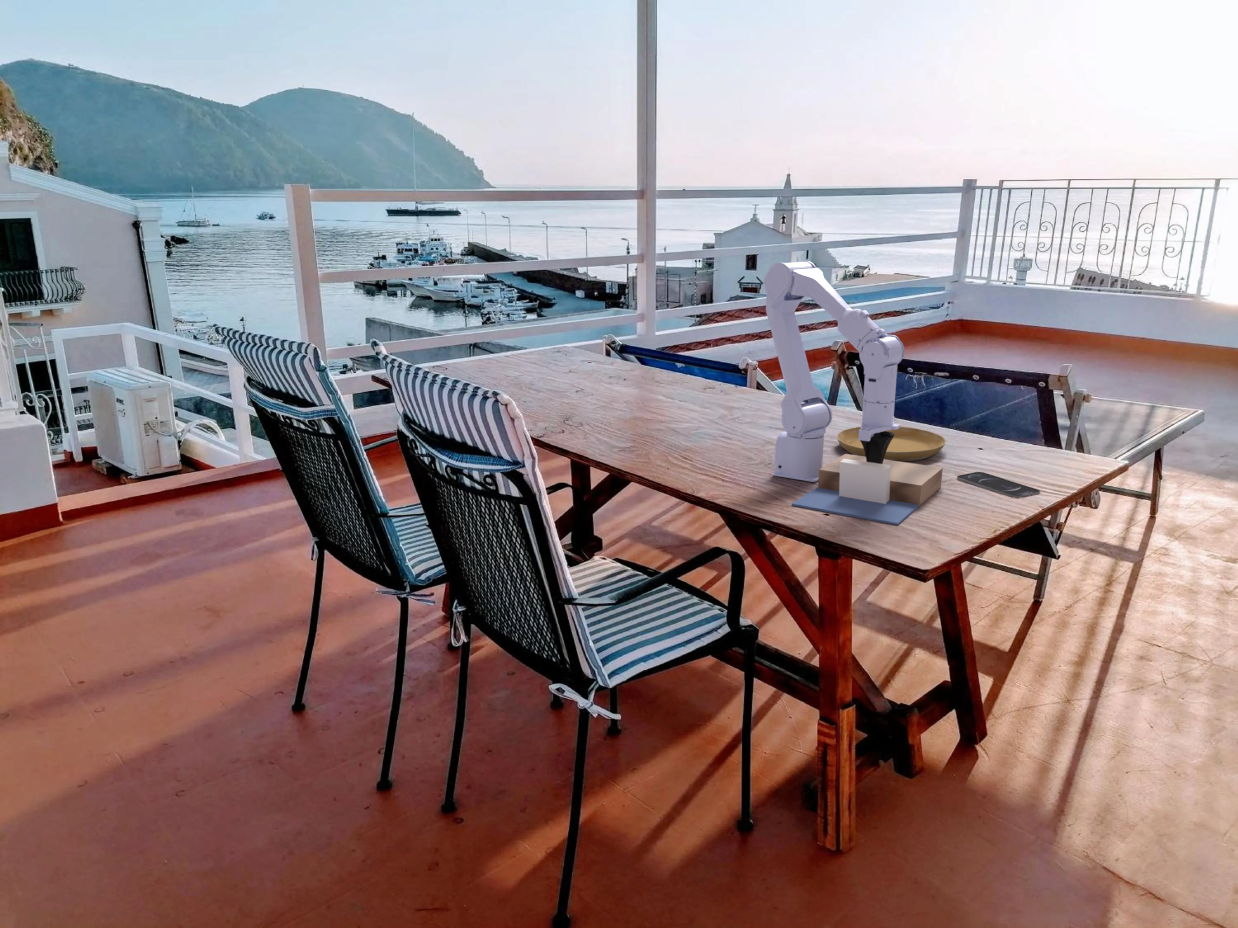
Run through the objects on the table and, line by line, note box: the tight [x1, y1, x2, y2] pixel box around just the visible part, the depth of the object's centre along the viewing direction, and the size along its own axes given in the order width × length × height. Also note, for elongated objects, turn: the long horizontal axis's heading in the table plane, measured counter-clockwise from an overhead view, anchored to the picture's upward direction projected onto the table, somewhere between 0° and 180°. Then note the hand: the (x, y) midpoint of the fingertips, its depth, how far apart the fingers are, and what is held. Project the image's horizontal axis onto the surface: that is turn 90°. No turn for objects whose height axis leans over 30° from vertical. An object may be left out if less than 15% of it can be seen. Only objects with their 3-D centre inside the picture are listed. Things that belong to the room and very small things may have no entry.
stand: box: [817, 453, 944, 507], centre depth 167 cm, size 20×14×4 cm
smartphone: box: [956, 471, 1041, 499], centre depth 167 cm, size 8×1×15 cm
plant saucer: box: [836, 425, 947, 462], centre depth 195 cm, size 24×24×3 cm
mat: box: [791, 486, 920, 526], centre depth 157 cm, size 20×12×1 cm, turn 54°
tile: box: [839, 459, 891, 504], centre depth 159 cm, size 9×7×2 cm
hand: (874, 469), depth 163 cm, fingers closed
